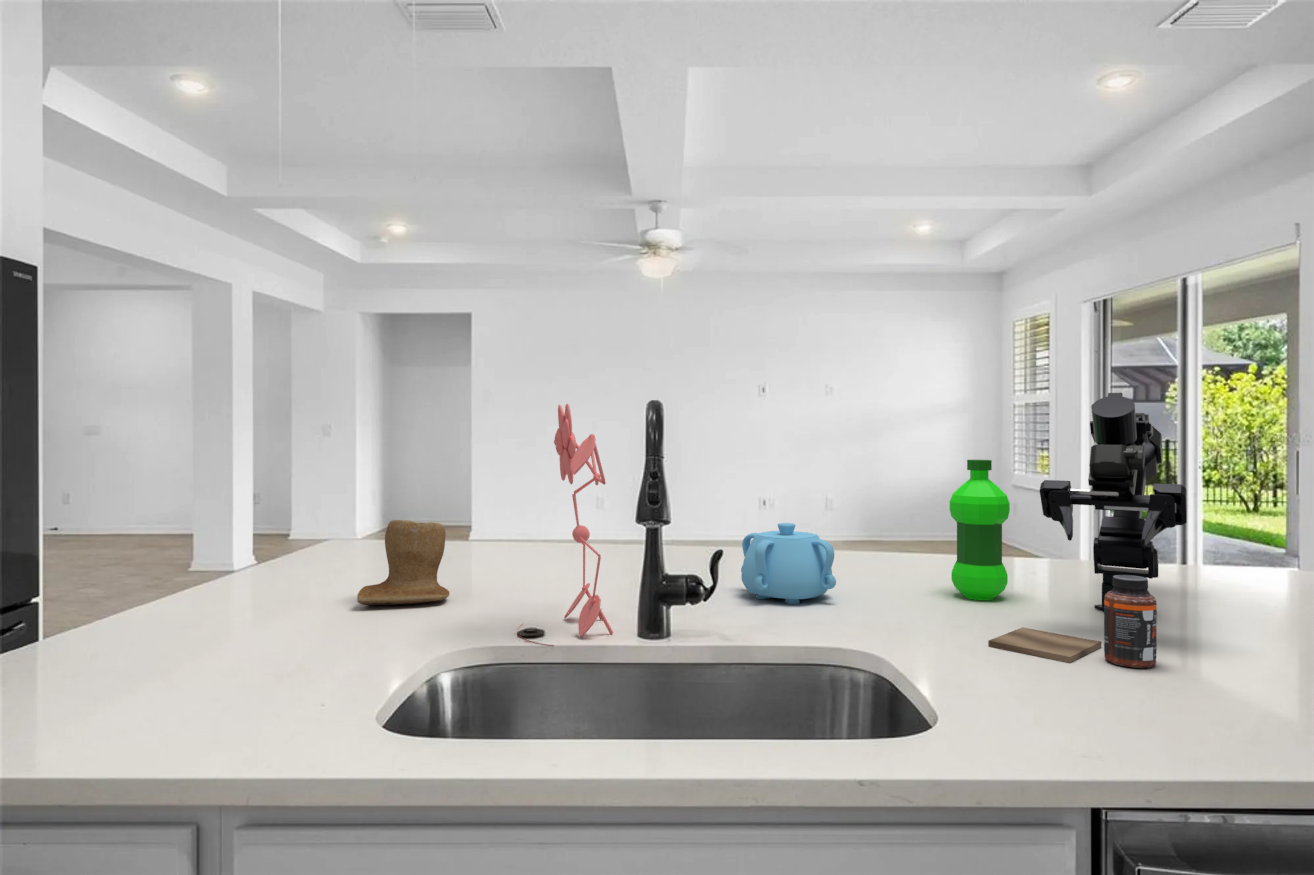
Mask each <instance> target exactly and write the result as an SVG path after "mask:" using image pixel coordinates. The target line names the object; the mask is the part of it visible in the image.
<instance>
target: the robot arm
mask: <svg viewBox="0 0 1314 875" xmlns="http://www.w3.org/2000/svg"><path fill="white" fill-rule="evenodd" d="M1123 394H1124V393H1123V392H1108V393H1107V396H1105V397H1102V398H1100V399H1097V400H1096V401H1094V402H1093V403H1092V404H1091V406H1090V408H1091V416H1092V417H1091V418H1092V420H1090V422H1089V428H1090V435H1091V437H1092V439H1093V442H1094V443H1096V444H1094V445H1091V447H1090V453H1089V454H1090V456H1089V464H1088V465H1089V471H1088V472H1089V474H1088V480H1087V482H1088V486H1091V487H1090V489H1080V488H1079V489H1077V488H1076V489H1075V488H1072V485H1071V481H1070V480H1053V479H1051V480H1050V479H1044V480H1043V481H1042V482H1041V483H1040V487H1039V497H1040V503H1041V508H1042V516H1044V517H1046V518H1047V519H1048V518H1049V519H1051V520H1052V521H1054V522H1059V524H1060V525H1061V526H1062V528H1063V529H1064V533H1065V536H1066V537H1067V540H1068V541H1069V542H1070V541H1072V539H1073V537H1074V518H1073V516H1074V515H1073V513H1074V509H1073V508H1074V505H1077V506H1094V510H1096V511H1097V510H1098V511H1113V515H1112V516H1109V515H1108V516H1106V515H1105V516H1104V517H1103V518H1102V519H1101V522H1100V523H1101V524H1100V528H1099V532H1098V537H1094V539H1093V548H1092V549H1093V567H1094V569H1093V570H1094V571H1093V572H1094V574H1095V575H1096V574H1097V575H1098V574H1102V583H1101V604H1094V609H1098V610H1101V611H1104V598H1105V595H1106V593H1107V592H1109V591H1112V590H1113V588H1114V586H1113V585H1112V583H1113V576H1115V575H1133V576H1140V577H1145V578H1147V579H1151V580H1152V579H1153V578H1154V579H1155V578H1157V579H1158V578H1159V558H1158V557H1159V554H1158V550H1157V548H1155V545H1154V543H1153V542H1154V541H1152V540H1153V539H1154V538H1155V537H1156V536H1157V535H1158V534H1160V533H1161V532H1164V530H1166V529H1168V528H1169V529H1173V528H1175V527H1176V526H1183V525H1185V524H1187V523H1188V522H1187V520H1188V504H1187V503H1188V498H1187V488H1186V487H1185V486H1184V485H1183V484H1181V483H1180V484H1179V483H1178V484H1177V483H1153V487H1152V491H1153V494H1152V493H1151V494H1150V495H1148V494H1145V492H1146V484H1147V481H1148V480H1150V479H1152V478H1154V477H1155V476H1156V475H1157V474H1158V469H1159V465H1162V464H1163V457H1164V456H1163V452H1164V451H1163V450H1164V449H1163V440H1162V439H1163V438H1162V436H1163V435H1162V433H1161V432H1160V431H1159V430H1158V429H1156V428H1155V427H1154V425H1153V424H1152V423H1151V422H1150V416H1149V413H1148V414H1146V413H1144V412H1136V405H1135V404H1136V403H1135V402H1134V401H1133V400H1132V398H1131V399H1130V398H1128V397H1126V396H1124V395H1123ZM1143 512H1146V517H1145V519H1144V517H1143Z"/></svg>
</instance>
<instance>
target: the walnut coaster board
mask: <svg viewBox="0 0 1314 875" xmlns="http://www.w3.org/2000/svg"><path fill="white" fill-rule="evenodd" d="M987 642H988V645H987V646H988V647H989V648H995V649H1000V650H1006V651H1010V652H1015V653H1021V654H1025V655H1030V656H1033V657H1039V658H1043V659H1044V658H1045V659H1048V660H1053V661H1054V660H1055V661H1059V662H1064V663H1068V664H1071V663H1073V662H1075V661H1077V660H1080V658H1083V657H1085V656H1086V655H1089V654H1091V653H1093V652H1095V651H1097V650H1099V649H1101V648H1102V641H1100V640H1095V639H1089V638H1085V637H1084V638H1083V637H1078V636H1074V635H1073V636H1072V635H1065V634H1060V633H1055V632H1049V631H1045V630H1038V629H1033V628H1028V627H1023V626H1022V627H1020V628H1017V629H1015V630H1012V631H1009V632H1007V633H1005V634H1002V635H999V636H997V637H994V638H991V639H988V640H987Z"/></svg>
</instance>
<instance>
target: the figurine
mask: <svg viewBox="0 0 1314 875" xmlns="http://www.w3.org/2000/svg"><path fill="white" fill-rule="evenodd" d="M570 407H571V406H570V405H569V403H566V404H565V406H564V408H563V406H562V405H561V404H559V403H558V407H557V420H558V428H557V430H556V432H555V435H554V441H553V444H554V446H555V450H556V453H557V455H558V456H559V471H560V472H559V473H560V478H561V480H562V481H563V482H564V481H565V480H566V478H567V479H568V483H569V484H570V485H573V483H574V476H575V475H576V474H577V473H578V472H579V471H580V470H581V469H582V468H583V467H584V466H585V465H586V466H587V467H588V469H589V470H590V472H591V473H592V475H593V477H592V479H590V480H588V481H587V482H585V483H584V484H582V485H581V486H579V487H578V488H577V489H575V490H573V493H572V494H571V496H572V502H573V509H574V515H575V520H576V521H575V522H576V526H575V527H574V529H573V530H572V533H571V534H572V538H573V540H574V541H575V542H576V543H578V544H581V545H582V587H581V591H580V592H579V594H577V596H576V598H575V599H574V600H573V602H572V604H571V605H570V607H569V608H568V610H567V611H566V613H565V615H564V617H563V618H564V619H567V618H568V617H569V616H570V615H571V613H573V611H574V610H575V609H576V607H577V606H578V605H579V604H580V601H581V600H582V599H583V597H584V595H586V596H587V597H588V599H587V601H586V602H585V604H584V605H583V607H582V608H581V611H580V613H579V617H578V622H577V623H578V625H577V626H578V635H579V638H583V636H584V635H586V633H587V632H588V631H589V630H590V629H591V628H592V627H593V625H594V624H595V622H596V621H597V619H598V617H599V620H600V621H602V622H603V623H604V625H605V627H606V629H607V631H608V632H609V635H612V634H614V631H613V629H612V627H611V625H610V623H609V622H608V620H607V618H606V616H605V614H604V613H603V611H602V608H601V605H602V604H601V601H602V599H601V598H600V596H599V594H596V589H597V584H598V577H599V571H600V565H601V561H602V560H601V559H602V558H601V554H600V553H599V552H598V551H597V550H596V549H594V548H593V546H591V545H590V543H588V542H587V541H588V540H589V539H590V535H591V534H590V533H591V532H590V530H589V528H588V527H586V526H585V525H582V524H581V525H580V522H579V521H580V520H579V514H578V513H579V512H578V504H577V496H576V495H577V494H578V493H579V492H581V491H582V490H583V489H584V488H586V487H588V486H589V485H591V484H592V483H593V482H595V486H598V485H599V483H601V484H602V485H606V484H607V483H606V477H605V474H604V470H603V466H602V462H601V460H600V455H599V451H598V448H597V444H596V441H597V440H596V435H595V434H594V433H590V434H589V435H588V437H586V438H585V439H584V440H583V441H582V442H581V444H578V443H577V441H576V440H577V439H576V435H575V434H574V432H573V423H572V422H573V421H572V420H573V419H572V414H571V408H570ZM590 458H591V463H592V464H591V463H590V461H589V459H590ZM595 460H596V461H595ZM596 465H597V466H596ZM597 468H598V471H599V472H598V471H597ZM586 546H587V547H588V549H590V550H591V551H592V552H593V553H594V554H595V555H596V556H597V563H596V569H595V570H596V571H595V576H594V577H595V578H594V585H593V591H592V594H591V593H590V591H589V588H590V586H591V583H590V582H587V583H586ZM521 626H524V623H522V624H520V625H519V626H518V628H517V631H518V630H519V628H521ZM513 634H514V635H516V633H515V632H513ZM517 635H518V637H520V639H522V640H525V641H524V643H530V644H532V643H533V644H536V645H542V646H548V647H555V645H553V644H545V643H540V642H535V641H532V640H528V639H527V638H524V637H522V636H521V635H520V634H519V633H517Z"/></svg>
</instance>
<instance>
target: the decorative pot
mask: <svg viewBox="0 0 1314 875" xmlns="http://www.w3.org/2000/svg"><path fill="white" fill-rule="evenodd" d="M777 528H778V530H770V531H762V532H751V533H749V534H747V535H746V536H744V538H743V540H742V545H741V547H742V552H743V556H744V558H743V562H742V566H741V570H740V572H741V576H740V577H741V582H742V583H743V586H744V587H745V589H746V590H747V591H748V593H750V594H752V595H753V594H754V595H755V596H754V598H756V599H758V600H768V599H770V598H776V599H784V603H785V604H787V605H799V604H801V601H800V600H806V599H817V598H819V597H820V596H822V595H824V594H826V593H827V592H828V591H829V590H831V589H834V588H835V586H836V585H837V580H836V578H835V576H834V575H833V570H832V567H833V564H834V561H835V550H834V546H832V544H831V543H830V542H828V541H826V540H824V539H822V538H820V536H819V535H818V534H817V533H812V532H807V531H796V530H795V528H796V524H795V523H793V522H792V523H791V522H781V523H777Z"/></svg>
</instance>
